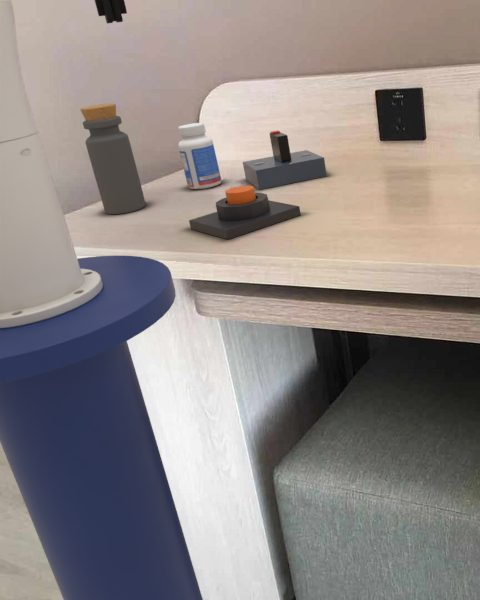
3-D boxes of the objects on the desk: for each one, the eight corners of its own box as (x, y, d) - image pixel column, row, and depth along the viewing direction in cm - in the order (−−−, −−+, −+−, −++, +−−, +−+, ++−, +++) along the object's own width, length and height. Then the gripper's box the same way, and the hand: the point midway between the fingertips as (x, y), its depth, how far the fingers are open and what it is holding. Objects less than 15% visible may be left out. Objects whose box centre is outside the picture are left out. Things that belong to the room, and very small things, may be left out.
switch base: (228, 239, 81) (222, 215, 80) (190, 229, 87) (185, 206, 86) (301, 215, 88) (297, 192, 87) (261, 206, 94) (257, 185, 93)
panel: (259, 189, 104) (255, 169, 103) (245, 179, 112) (242, 160, 111) (327, 176, 108) (324, 156, 107) (309, 167, 116) (306, 148, 114)
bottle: (96, 215, 100) (66, 110, 94) (121, 203, 105) (94, 104, 99) (130, 214, 98) (101, 107, 92) (154, 202, 103) (128, 101, 97)
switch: (237, 208, 84) (235, 194, 84) (222, 204, 87) (219, 191, 86) (261, 200, 87) (259, 187, 86) (246, 197, 89) (243, 184, 88)
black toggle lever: (291, 160, 107) (287, 133, 105) (281, 162, 106) (277, 135, 104) (283, 156, 111) (278, 130, 109) (273, 158, 110) (269, 131, 109)
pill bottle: (227, 180, 113) (215, 120, 109) (213, 189, 108) (199, 126, 104) (197, 182, 114) (183, 123, 110) (182, 190, 109) (167, 129, 105)
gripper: (-19, -180, 64) (42, 29, 71) (145, -181, 69) (186, 14, 76) (-11, -159, 70) (44, 30, 78) (138, -162, 76) (177, 16, 83)
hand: (114, 21), depth 77 cm, fingers closed
